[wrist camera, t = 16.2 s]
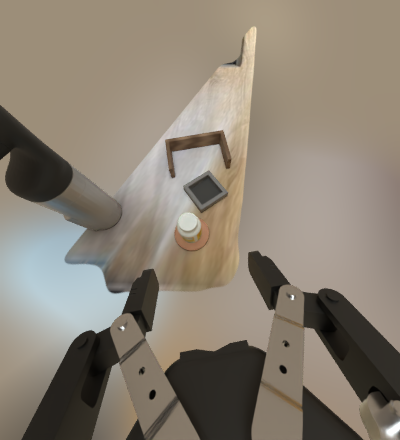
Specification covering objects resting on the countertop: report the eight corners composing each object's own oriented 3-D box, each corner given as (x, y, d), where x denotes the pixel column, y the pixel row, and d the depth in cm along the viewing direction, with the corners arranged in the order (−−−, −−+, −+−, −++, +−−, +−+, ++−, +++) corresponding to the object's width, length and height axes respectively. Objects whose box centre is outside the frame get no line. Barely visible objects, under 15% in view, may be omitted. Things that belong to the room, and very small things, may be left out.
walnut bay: (171, 177, 48) (168, 169, 44) (168, 149, 51) (165, 139, 47) (229, 167, 48) (231, 158, 44) (221, 140, 52) (223, 130, 48)
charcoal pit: (201, 212, 43) (201, 209, 42) (184, 189, 46) (183, 186, 44) (227, 195, 45) (227, 192, 43) (208, 174, 47) (208, 170, 46)
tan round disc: (187, 257, 40) (186, 257, 39) (169, 229, 42) (168, 228, 41) (215, 237, 41) (215, 236, 40) (196, 211, 44) (196, 210, 43)
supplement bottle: (187, 247, 39) (181, 239, 30) (178, 229, 41) (169, 217, 32) (205, 236, 40) (205, 225, 31) (195, 220, 42) (192, 204, 33)
